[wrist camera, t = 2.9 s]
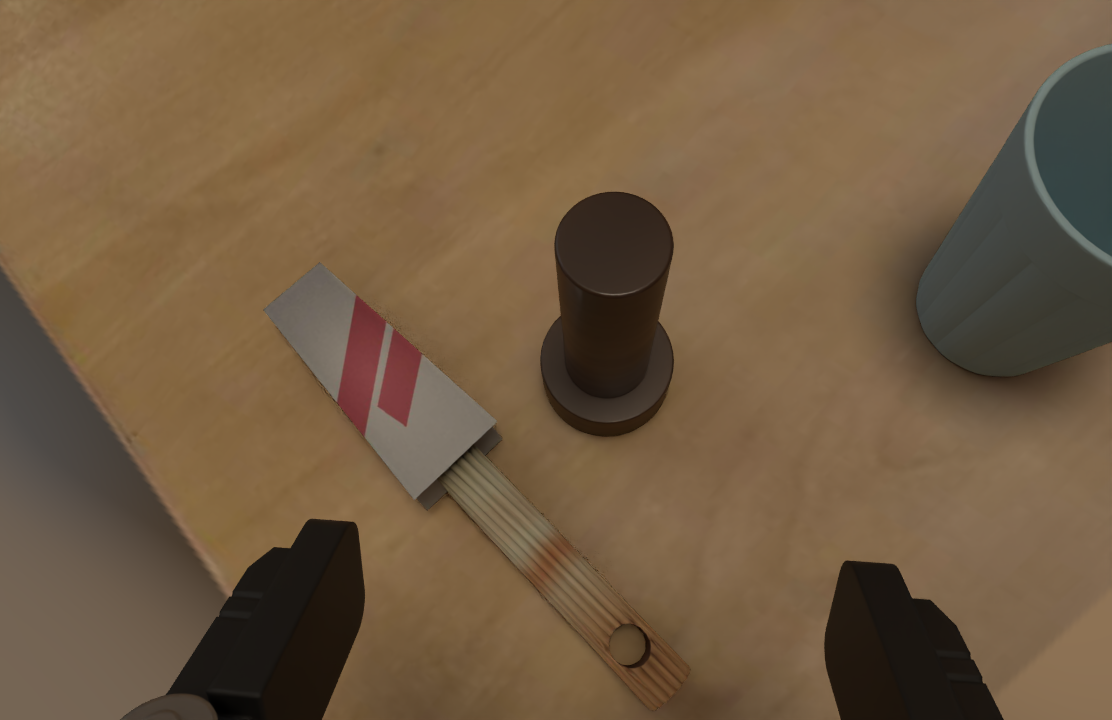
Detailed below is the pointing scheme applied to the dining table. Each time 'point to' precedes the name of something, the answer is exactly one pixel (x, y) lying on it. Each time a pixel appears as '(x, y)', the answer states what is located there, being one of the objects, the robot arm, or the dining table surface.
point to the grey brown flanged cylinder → (609, 315)
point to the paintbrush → (455, 461)
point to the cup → (1033, 237)
